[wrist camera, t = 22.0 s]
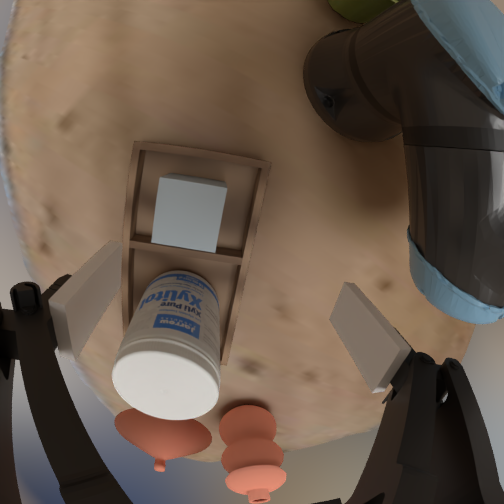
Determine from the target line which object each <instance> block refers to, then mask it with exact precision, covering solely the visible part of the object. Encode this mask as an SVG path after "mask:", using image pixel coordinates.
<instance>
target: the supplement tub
mask: <svg viewBox="0 0 504 504" xmlns="http://www.w3.org/2000/svg"><path fill="white" fill-rule="evenodd" d="M112 381H113V384H114V387H115V389H116V390H117V392H118V393H119V395H120V396H121V397H122V398H123V399H124V400H125V401H126V402H127V403H128V404H130V405H131V406H132V407H134V408H135V409H137V410H139V411H141V412H143V413H145V414H148V415H150V416H153V417H157V418H161V419H167V420H187V419H192V418H196V417H199V416H201V415H204V414H205V413H207V412H208V411H210V410H211V409H212V408H213V407H214V406H215V404H216V403H217V400H218V397H219V388H220V324H219V300H218V297H217V295H216V292H215V291H214V289H213V288H212V286H211V285H210V284H209V283H208V282H207V281H206V280H205V279H203V278H202V277H200V276H198V275H196V274H194V273H191V272H187V271H169V272H166V273H163V274H161V275H159V276H158V277H156V278H155V279H154V280H152V281H151V282H150V284H149V285H148V286H147V288H146V290H145V292H144V294H143V296H142V298H141V301H140V303H139V305H138V307H137V309H136V311H135V313H134V316H133V318H132V320H131V322H130V324H129V327H128V329H127V331H126V333H125V336H124V338H123V340H122V343H121V345H120V348H119V350H118V353H117V355H116V358H115V362H114V367H113V370H112Z"/></svg>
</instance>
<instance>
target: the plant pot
mask: <svg viewBox="0 0 504 504" xmlns="http://www.w3.org/2000/svg"><path fill="white" fill-rule="evenodd" d="M398 1H400V0H328V2H329V4H330V6H331V7H332V8H333V9H334V10H335V11H336V12H338V13H339V14H341V15H342V16H343V17H344V18H346V19H348V20H350V21H353V22H357V23H366V22H368V21H370V20H371V19H373V18H374V17H376V16H377V15H379V14H380V13H381V12H383V11H384V10H386V9H387V8H389V7H391V6H392V5H394V4H395V3H397V2H398Z"/></svg>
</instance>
